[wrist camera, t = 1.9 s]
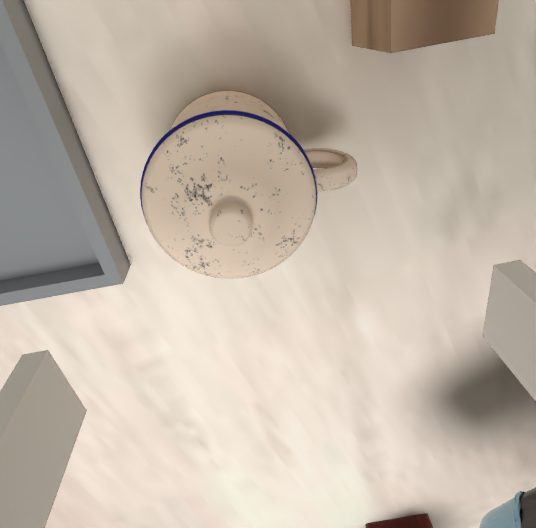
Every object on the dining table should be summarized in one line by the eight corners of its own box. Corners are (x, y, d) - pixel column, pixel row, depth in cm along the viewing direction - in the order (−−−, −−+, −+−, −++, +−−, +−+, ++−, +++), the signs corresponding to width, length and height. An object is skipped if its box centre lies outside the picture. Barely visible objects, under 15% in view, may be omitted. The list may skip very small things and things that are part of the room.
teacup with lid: (179, 222, 30) (155, 321, 20) (148, 94, 25) (97, 141, 16) (335, 202, 30) (387, 290, 21) (334, 71, 26) (400, 103, 16)
